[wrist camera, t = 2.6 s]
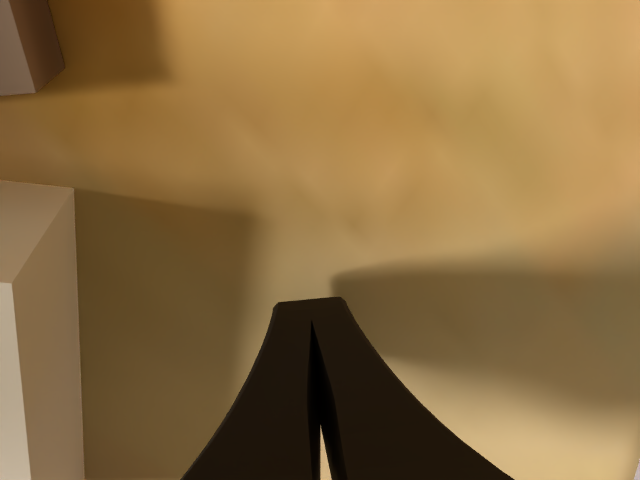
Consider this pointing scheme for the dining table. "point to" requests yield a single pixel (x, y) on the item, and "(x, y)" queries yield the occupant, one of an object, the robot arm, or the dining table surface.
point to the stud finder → (39, 335)
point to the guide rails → (27, 47)
